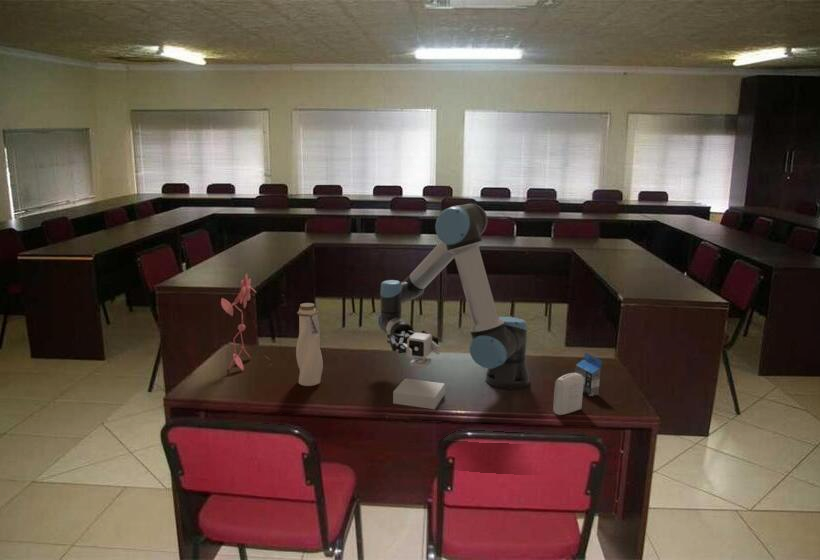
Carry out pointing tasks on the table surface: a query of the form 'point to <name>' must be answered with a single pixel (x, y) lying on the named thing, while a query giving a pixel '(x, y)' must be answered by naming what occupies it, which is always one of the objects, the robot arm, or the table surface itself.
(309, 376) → the water bottle
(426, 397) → the plinth
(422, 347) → the security camera
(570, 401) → the photo printer
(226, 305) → the figurine
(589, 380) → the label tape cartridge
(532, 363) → the table surface
